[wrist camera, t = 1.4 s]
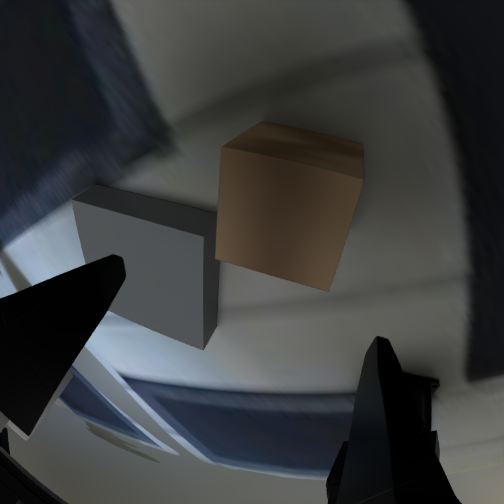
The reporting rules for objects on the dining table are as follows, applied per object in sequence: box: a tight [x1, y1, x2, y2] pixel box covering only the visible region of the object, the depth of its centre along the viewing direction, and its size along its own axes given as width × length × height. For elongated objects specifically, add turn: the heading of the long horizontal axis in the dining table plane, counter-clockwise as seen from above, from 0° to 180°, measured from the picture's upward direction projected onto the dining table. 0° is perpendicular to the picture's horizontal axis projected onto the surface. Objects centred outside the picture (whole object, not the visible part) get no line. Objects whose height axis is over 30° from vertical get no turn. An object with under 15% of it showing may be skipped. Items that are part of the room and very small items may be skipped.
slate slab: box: [72, 184, 220, 350], centre depth 26 cm, size 12×12×3 cm
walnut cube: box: [215, 121, 364, 292], centre depth 16 cm, size 6×6×6 cm
